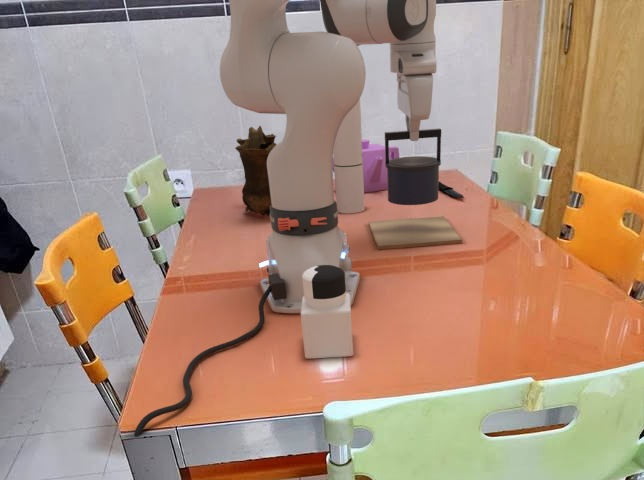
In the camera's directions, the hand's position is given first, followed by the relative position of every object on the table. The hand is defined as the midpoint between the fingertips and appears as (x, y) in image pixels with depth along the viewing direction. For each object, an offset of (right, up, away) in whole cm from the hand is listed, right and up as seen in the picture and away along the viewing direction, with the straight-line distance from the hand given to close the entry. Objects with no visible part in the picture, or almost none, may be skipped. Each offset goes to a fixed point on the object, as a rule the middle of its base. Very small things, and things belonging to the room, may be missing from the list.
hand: (412, 139), depth 135 cm
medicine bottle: (-16, -51, -37) cm, 65 cm away
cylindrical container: (-13, -2, +32) cm, 34 cm away
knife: (+13, +7, +41) cm, 44 cm away
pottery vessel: (-36, -1, +34) cm, 49 cm away
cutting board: (+1, -15, +11) cm, 19 cm away
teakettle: (-10, +13, +51) cm, 54 cm away
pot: (+1, -9, +7) cm, 12 cm away
